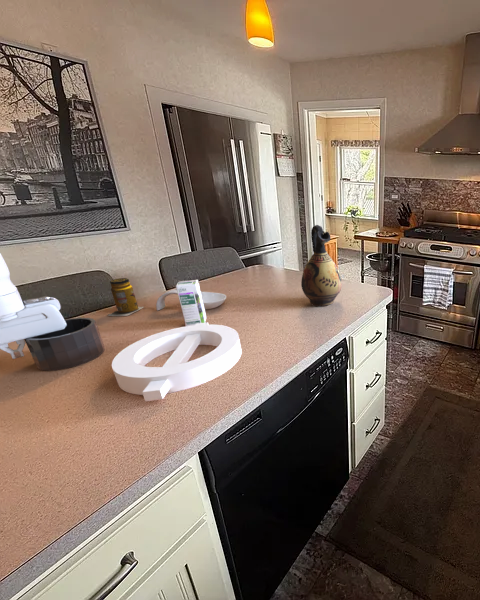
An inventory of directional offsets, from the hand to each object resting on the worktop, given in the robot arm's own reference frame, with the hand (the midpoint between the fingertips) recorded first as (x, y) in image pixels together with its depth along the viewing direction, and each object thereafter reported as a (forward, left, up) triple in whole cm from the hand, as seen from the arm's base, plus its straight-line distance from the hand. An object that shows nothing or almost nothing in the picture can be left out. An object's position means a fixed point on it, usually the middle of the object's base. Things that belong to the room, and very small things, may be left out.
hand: (18, 356), depth 81 cm
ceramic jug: (+80, -20, -5) cm, 82 cm away
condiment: (+28, +28, -5) cm, 40 cm away
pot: (+9, 0, -4) cm, 10 cm away
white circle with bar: (+27, -27, -4) cm, 38 cm away
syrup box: (+40, -2, -5) cm, 40 cm away
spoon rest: (+45, +13, -5) cm, 47 cm away
